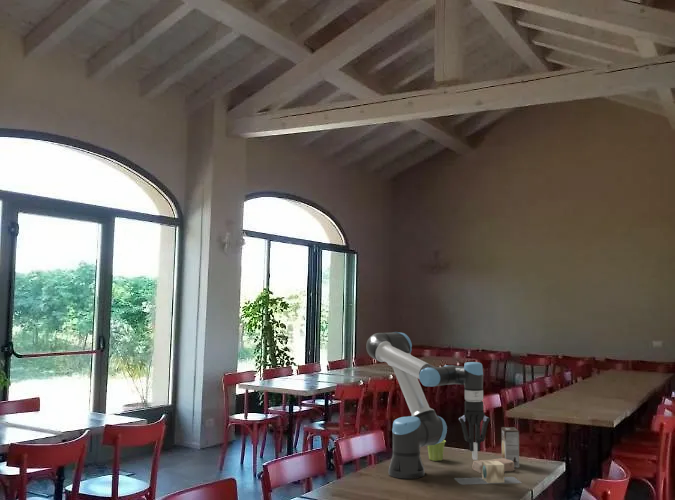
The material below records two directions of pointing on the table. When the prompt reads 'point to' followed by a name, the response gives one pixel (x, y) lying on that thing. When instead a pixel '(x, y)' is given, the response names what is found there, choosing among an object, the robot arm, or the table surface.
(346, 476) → the table surface
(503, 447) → the coffee box
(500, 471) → the beech block
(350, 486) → the table surface
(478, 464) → the brick
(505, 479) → the rubber mat
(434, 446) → the plant pot
